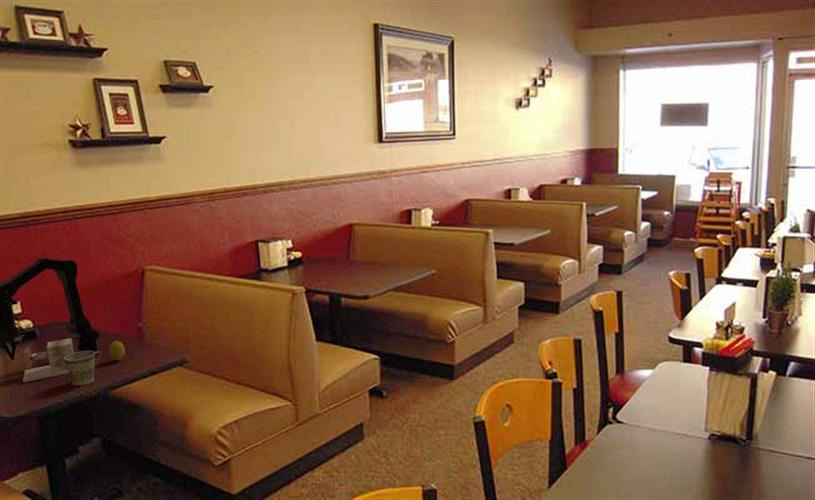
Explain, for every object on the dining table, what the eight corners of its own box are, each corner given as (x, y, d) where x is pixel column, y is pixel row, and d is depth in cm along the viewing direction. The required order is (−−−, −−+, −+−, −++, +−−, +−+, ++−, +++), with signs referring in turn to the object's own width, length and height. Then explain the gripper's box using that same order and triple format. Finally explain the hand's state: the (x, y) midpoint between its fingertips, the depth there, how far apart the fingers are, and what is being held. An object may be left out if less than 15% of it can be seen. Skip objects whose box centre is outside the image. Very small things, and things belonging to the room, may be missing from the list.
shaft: (56, 358, 248) (53, 343, 247) (55, 362, 243) (53, 347, 242) (27, 363, 244) (25, 348, 243) (26, 368, 239) (23, 352, 238)
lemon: (129, 358, 255) (126, 339, 253) (117, 363, 250) (114, 343, 248) (119, 357, 257) (116, 338, 255) (107, 362, 252) (104, 342, 251)
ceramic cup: (78, 389, 226) (74, 361, 224) (62, 385, 231) (57, 358, 229) (112, 376, 236) (108, 350, 234) (96, 372, 242) (92, 346, 240)
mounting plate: (78, 362, 254) (78, 359, 254) (78, 371, 244) (78, 368, 244) (25, 372, 247) (25, 369, 247) (23, 382, 236) (22, 379, 236)
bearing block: (75, 361, 252) (71, 338, 250) (75, 367, 245) (71, 343, 243) (51, 366, 249) (47, 342, 247) (51, 372, 242) (46, 348, 240)
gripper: (-29, 329, 225) (-21, 371, 228) (33, 319, 233) (40, 360, 236) (-24, 321, 235) (-16, 362, 238) (34, 312, 243) (42, 352, 246)
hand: (12, 359), depth 239 cm, fingers closed
